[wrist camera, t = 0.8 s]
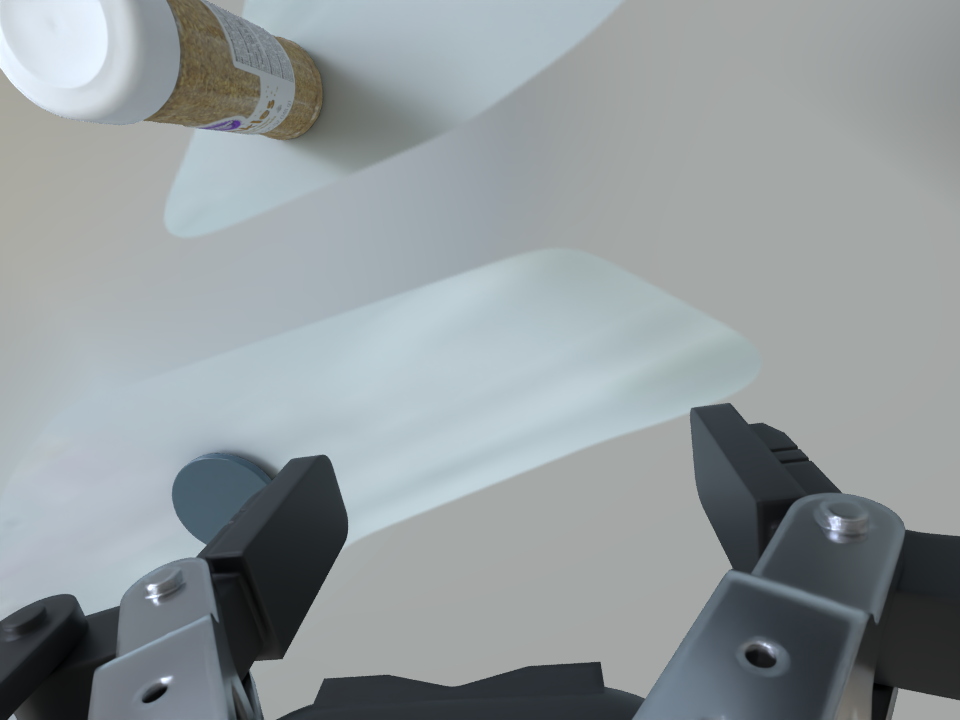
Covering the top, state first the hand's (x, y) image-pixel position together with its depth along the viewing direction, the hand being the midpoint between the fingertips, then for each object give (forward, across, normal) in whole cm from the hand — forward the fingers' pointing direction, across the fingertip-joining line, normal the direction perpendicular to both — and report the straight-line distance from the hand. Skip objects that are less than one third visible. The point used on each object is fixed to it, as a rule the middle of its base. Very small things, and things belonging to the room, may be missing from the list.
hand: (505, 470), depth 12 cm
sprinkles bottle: (+18, +10, -12) cm, 24 cm away
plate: (+18, +20, +10) cm, 29 cm away
